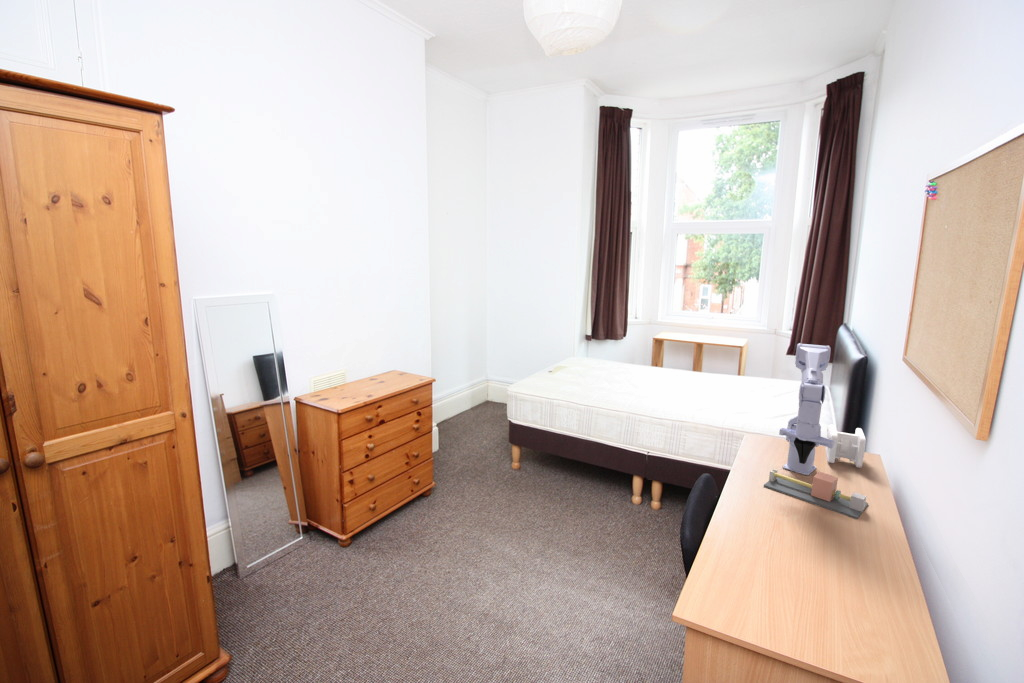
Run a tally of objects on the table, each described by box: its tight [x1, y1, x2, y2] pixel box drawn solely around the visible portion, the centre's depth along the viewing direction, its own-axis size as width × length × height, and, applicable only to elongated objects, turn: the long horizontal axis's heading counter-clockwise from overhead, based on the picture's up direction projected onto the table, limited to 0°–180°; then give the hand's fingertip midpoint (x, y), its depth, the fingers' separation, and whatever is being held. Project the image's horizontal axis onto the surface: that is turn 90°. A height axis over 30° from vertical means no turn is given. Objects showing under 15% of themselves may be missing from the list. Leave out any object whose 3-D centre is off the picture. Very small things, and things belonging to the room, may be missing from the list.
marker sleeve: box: [811, 471, 839, 502], centre depth 142 cm, size 6×5×6 cm
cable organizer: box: [825, 424, 867, 468], centre depth 169 cm, size 15×11×12 cm
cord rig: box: [763, 468, 869, 520], centre depth 144 cm, size 12×25×4 cm, turn 42°
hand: (802, 462), depth 146 cm, fingers closed
